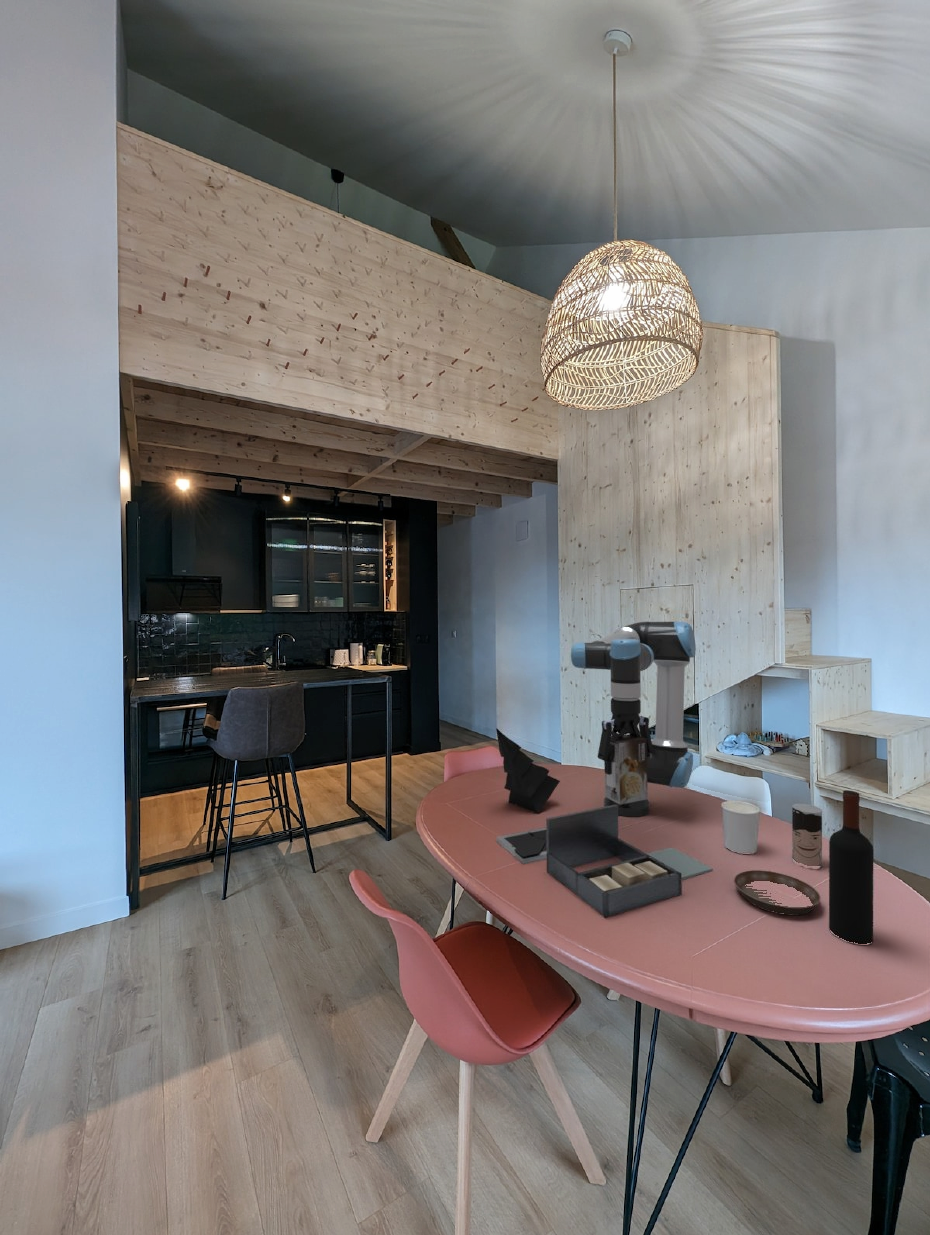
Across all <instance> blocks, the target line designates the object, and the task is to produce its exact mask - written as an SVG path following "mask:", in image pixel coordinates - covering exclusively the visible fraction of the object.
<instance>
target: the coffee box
mask: <svg viewBox="0 0 930 1235" xmlns="http://www.w3.org/2000/svg"><path fill="white" fill-rule="evenodd" d="M610 744H612V745H615V756H614V759H613V762H615V774H616V787H615V788H613V787H610V786H608V785H607V774H606V773H605V772H604V784H605V785H604V790H605V792H604V793H605V794H604V796H605V797H606V798H608V799H610V800H612V801H614V802H616V803H618V804H620V805H621V804H626V803H631V802H636V801H641V800H646V799H648V798H649V796H648V794H649V793H648V787H649V786H648V783H647V739H645V738H642V737H639V738H636V737H633V736H631V735H630V734H629V733H628V734H626V735H624V737H623V738H622V739H621V740H620V741H615V740H612V739H611V741H610ZM605 797H604V798H605ZM648 800H649V799H648Z"/></svg>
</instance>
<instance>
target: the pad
mask: <svg viewBox="0 0 930 1235" xmlns="http://www.w3.org/2000/svg"><path fill="white" fill-rule="evenodd" d="M646 854H648V855H649V856H651V857H653V858H655V859H657V860H658V861H660V862H662V863H664V864H665V865H667V866H669V867H671V868H673V869H674V870H676V871H678V872H680V873H681V874H682V880H683V881H684V880H686V878H687V879H689V877H690V878H693V877H696V875H697V876H699V874H700V875H703V874H702V873H704V874H707V873H710V872H712V871H711V870H713V871H714V868H713V867H711V866H710V865H707V864H706V863H703V862H702V861H699V860H698V859H696V858H694V857H691V856H690V855H688V854H686V853H684V852H682V851H681V850H678V849H676V848H674V847H673V846H672V847H671V846H670V847H668V848H664V849H660V850H656V851H652V852H647V853H646ZM709 871H710V872H709ZM706 872H707V873H706Z"/></svg>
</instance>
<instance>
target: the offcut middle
mask: <svg viewBox="0 0 930 1235" xmlns="http://www.w3.org/2000/svg"><path fill="white" fill-rule="evenodd" d="M612 880H614V881H615V882H616V883H618V884H619V885H620V886H622V888H623V887H626V886H630V885H633V884H637V883H640V882H644V881H645V873H644V872H643V871H641V870H639V869H638V868H636V867H634V866H633V865H631V864H629V863H624V864H620V865H616V866H613V867H612Z"/></svg>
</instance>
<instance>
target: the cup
mask: <svg viewBox="0 0 930 1235" xmlns="http://www.w3.org/2000/svg"><path fill="white" fill-rule="evenodd" d="M791 807H792V808H791V809H792V813H791V814H792V816H791V817H792V819H791V820H792V824H791V828H792V829H791V834H792V836H791V838H792V839H791V840H792V842H791V843H792V844H791V848H792V850H791V852H792V853H791V854H792V855H791V858H793V859H794V860H795V861H796V862H798V863H802V864H804V865H807V866H821V865H822V866H823V810H822V808H820V807H819V806H815V805H812V804H808V803H794V804H792V806H791Z"/></svg>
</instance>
